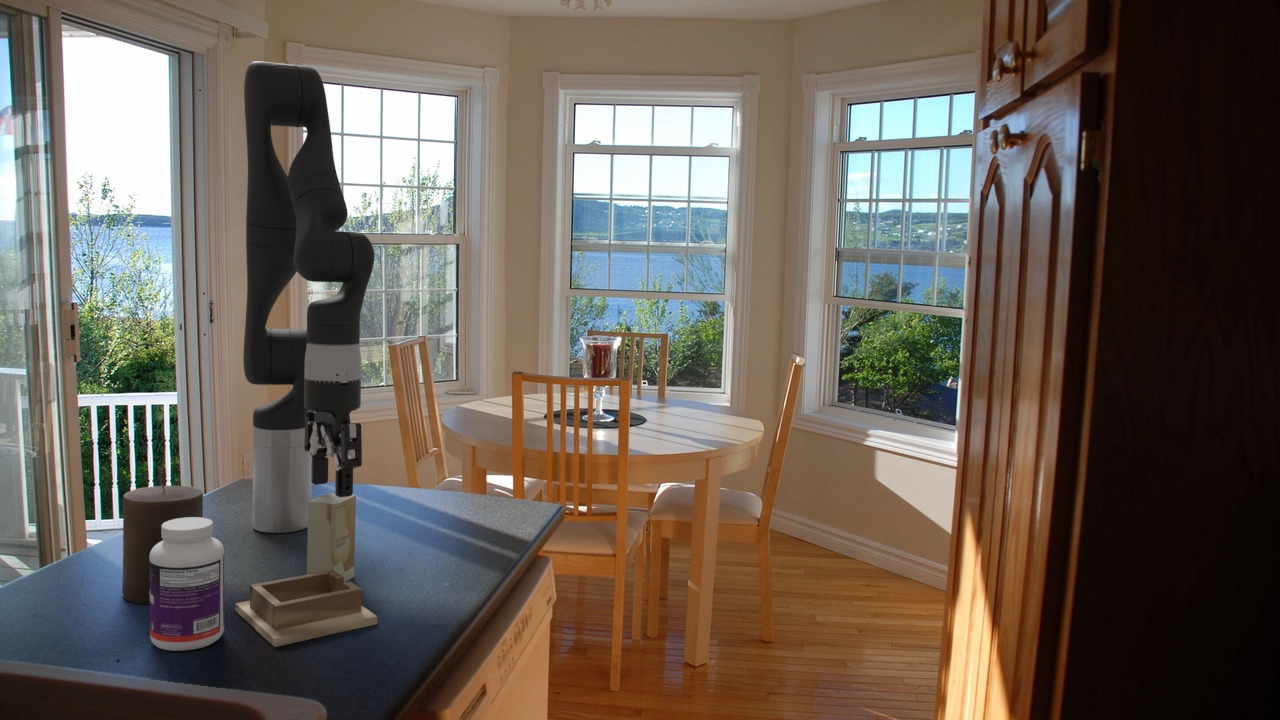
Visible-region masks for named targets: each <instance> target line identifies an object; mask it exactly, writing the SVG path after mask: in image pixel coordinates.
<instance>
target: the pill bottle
mask: <svg viewBox="0 0 1280 720" xmlns="http://www.w3.org/2000/svg"><path fill="white" fill-rule="evenodd" d="M213 532H214V522H213V520H212V519H210V518H208V517H207V518H206V517H203V518H201V517H186V518H177V519H173V520H169V521H167V522H164V523H163V524H162V526H161V535H162V539H164V540H163V541H161V542H159V543H158V544H156V545H155V546H154V547H153V548H152V550H151V552H150V557H149V558H150V604H149V636H150V641H151V643H152V644H153V645H154V646H155V647H157V648H158V649H160V650H164V651H172V652H173V651H174V652H178V651H179V652H181V651H191V650H192V651H193V650H197V649H202V648H205V647H207V646H210V645H212V644H214V643H216V642H217V641H218V640H219V639H221V636H222V635H223V633H224V631H225V548H224V547H225V546H224V545H223V543H222V542H221V541H220V540H218V539H217V538H216V537H213V534H214V533H213Z"/></svg>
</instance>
